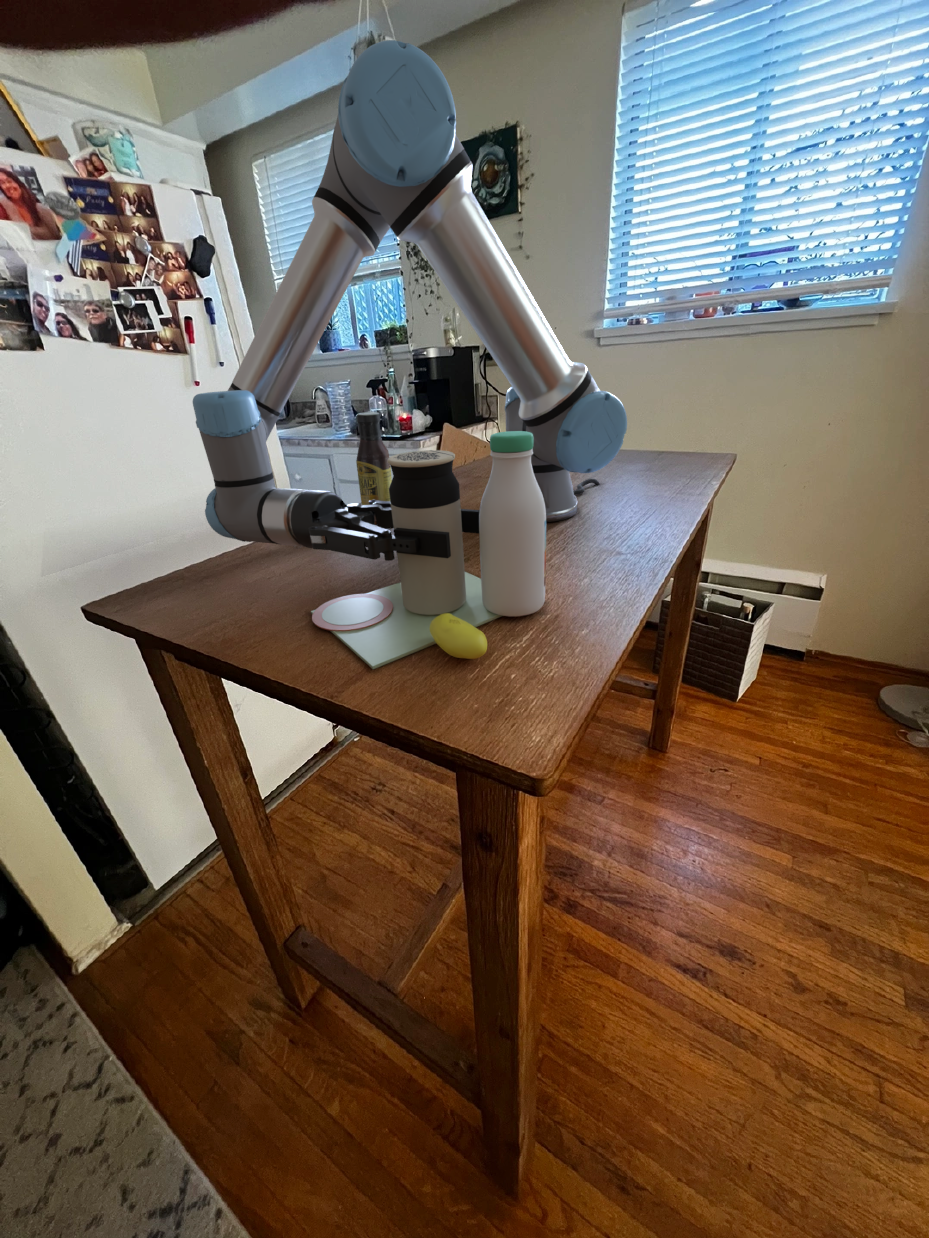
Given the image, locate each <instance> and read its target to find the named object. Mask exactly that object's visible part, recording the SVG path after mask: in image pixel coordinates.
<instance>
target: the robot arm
mask: <svg viewBox="0 0 929 1238" xmlns="http://www.w3.org/2000/svg"><path fill="white" fill-rule="evenodd" d="M337 105H338V107H337V116H336V121H335V125H334V127H333V133H332V137H331V144H330V148H329V151H328V152H329V153H328V157H327V162H326V165H325V168H324V172H323V175H322V177H321V181H320V183H319V185H318V188H317V189H316V192H315V194H314V195H313V198H312V200H311V204H312V209H313V212H314V216H313V218H312V219H311V222H310V224H309V225H308V228H307V229H306V232H305V234H304V235H303V238H302V240H301V242H300V244H299V246H298V248H297V250H296V252H295V254H294V255H293V258H292V260H291V262H290V264H289V266H288V268H287V270H286V272H285V274H284V276H283V279H282V280H281V283H280V284H279V287H278V289H277V290H276V292H275V294H274V296H273V298H272V300H271V303H270V304H269V307H268V308H267V311H266V312H265V315H264V317H263V319H262V321H261V322H260V325H259V327H258V329H257V331H256V333H255V335H254V337H253V339H252V341H251V343H250V345H249V348H248V349H247V351H246V352H245V356H244V357H243V359H242V361H241V363H240V365H239V367H238V369H237V370H236V373H235V375H234V377H233V379H232V382H231V383H230V386H229V387H228V388H227V390H222V391H210V392H203V393H197V394H195V395H194V396H193V397H192V407H193V411H194V415H195V425H196V428H197V429H198V432H199V434H200V437H201V438H200V439H201V441H202V444H203V447H204V451H205V455H206V459H207V462H208V464H209V467H210V471H211V474H212V478H213V482H214V488H213V489H212V490H211V491H210V492H209V493H208V495H207V497H206V499H205V503H206V504H205V509H204V514H205V519H206V521H207V523H208V525H209V526H210V527H211V529H212V530H213V531H214V532H215V533H216V534H218V535H219V536H221V537H224V538H229V539H232V540H237V541H240V542H244V543H246V542H247V543H261V544H263V543H264V544H275V545H280V546H281V545H283V546H290V547H293V548H294V549H295V550H300V549H301V548H306V549H313V550H319V551H332V552H337V553H340V554H345V555H349V556H355V557H360V558H363V559H369V560H378V559H380V558H381V554H383V556H384V561H387V562H389V561H394V560H395V558H396V557H395V552H396V554H397V553H403V554H412V555H421V556H430V557H439V558H449V557H450V556H451V549H450V536H449V532H441V531H430V530H419V529H407V528H395V529H394V526H393V518H392V511H391V503H390V501H381V500H375V499H373V500H370V501H369V505H362V504H361V503H358V502H356V503H349V504H346V503H345V502H344V500H343V499H342V498H341V497H340V495H338V494H337V493H336V492H333V491H330V490H317V489H315V490H313V489H309V490H308V489H302V488H280V487H277V486H276V482H275V478H274V472H273V469H272V464H271V460H270V455H269V452H268V446H267V441H268V439H269V437H270V435H271V433H272V431H273V429H274V427H275V425H276V423H277V422H278V420H279V418H280V415H281V413H282V411H283V409H284V408H285V406H286V404H287V402H288V399H289V398H290V396H291V394H292V392H293V391H294V389H295V387H296V385H297V383H298V381H299V379H300V377H301V375H302V374H303V372H304V370H305V369H306V366H307V364H308V362H309V361H310V358H311V357H312V355H313V353H314V351H315V349H316V347H317V346H318V343H319V342H320V339H321V338H322V336H323V334H324V332H325V330H326V328H327V326H328V325H329V323H330V321H331V319H332V318H333V316H334V314H335V312H336V310H337V308H338V306H339V304H340V302H341V300H342V299H343V296H344V295H345V293H346V291H347V289H348V287H349V285H350V283H351V282H352V280H353V278H354V277H355V274H356V272H357V271H358V268H359V267H360V264H361V263H362V262H363V261H362V260H363V259H364V258H368V257H372V256H374V255H375V254H376V251H377V249H378V248H379V246H380V244H381V242H382V240H383V239H384V237H385V236H386V234H388V232H389V230H391V231H392V233H393V234H394V236H395V237H396V238H397V240H398V241H402V242H407V243H412V244H415V245H416V246H417V247H418V248H419V250H420V251H421V253H422V254H423V256H424V257H425V259H426V260H427V261H428V263H429V265H430V267H432V269H433V271H434V272H435V274H436V275H437V277H438V278H439V280H440V281H441V283H442V284H443V285H444V287H445V289H446V290H447V291H448V293H449V295H450V296H451V298H452V299H453V301H454V302H455V303H456V305H457V306H458V308H459V309H460V311H461V312H462V314H463V316H464V318H465V319H466V320H467V321H468V323H469V324H470V326H471V327H472V329H473V330H474V332H475V334H476V335H477V337H478V338H479V339H480V341H481V343H482V344H483V345H484V347H485V348H486V350H487V351H488V353H489V354H490V356H491V357H492V359H493V360H494V362H495V363H496V365H497V366H498V368H499V369H500V371H501V372H502V374H503V375H504V377H505V378H506V380H507V381H508V383H509V384H510V387H509V388H508V389H507V391H506V393H505V405H504V413H505V432H508V431H526V432H530V433H532V434H533V440H534V443H533V454H532V455H531V464H532V469H533V472H534V476H535V478H536V481H537V483H538V485H539V488H540V490H541V492H542V495H543V498H544V502H545V509H546V523H553V522H558V521H563V520H566V519H569V518H571V517H573V516H575V515H576V514H577V512H578V499H577V496H576V495H580V494H583V493H584V492H585V490H586V489H585V486H587V485H589V484H594V485H595V486H600V484H601V483H600V482H599V480H597V479H595V478H587V479H584V480H583V481H581V482H580V483H579V484H577V485H576V489H575V490H574V487H573V482H572V478H571V477H572V476H571V474H570V473H578V474H591V473H596V472H598V471H600V470H601V469H603V468H605V467H606V466H607V465H608V464H610V463H611V462H613V459H615V458H616V456H617V455H618V453H619V452H620V450H621V448H622V446H623V444H624V438H625V435H626V434H627V429H628V417H627V416H628V415H627V412H626V409H625V407H624V404H623V403H622V401H621V400H620V399H619V398H618V397H617V396H616V395H614V394H612V393H611V392H609V391H606V390H601V389H600V388H599V387H598V385H597V383H596V381H595V379H594V377H593V375H592V374H591V372H590V370H589V368H588V367H587V366H586V364H585V363H583V362H578V361H572V360H570V359H569V357H568V355H567V353H566V352H565V350H564V348H563V346H562V345H561V343H560V342H559V340H558V338H557V336H556V335H555V333H554V331H553V329H552V328H551V326H550V324H549V322H548V321H547V319H546V317H545V316H544V313H543V312H542V311H541V309H540V307H539V306H538V304H537V302H536V300H535V298H534V296H533V295H532V293H531V290H529V288H528V286H527V284H526V283H525V281H524V279H523V277H522V276H521V274H520V272H519V271H518V269H517V267H516V265H515V264H514V262H513V260H512V258H511V257H510V255H509V254H508V251H507V250H506V248H505V246H504V245H503V242H502V241H501V240H500V237H499V236H498V234H497V233H496V231H495V229H494V227H493V226H492V224H491V222H490V220H489V219H488V217H487V215H486V214H485V211H484V210H483V208H482V206H481V205H480V203H479V201H478V199H477V198H476V196H475V194H474V193H473V190H472V187H471V186H472V175H473V162H472V161H471V159H470V157H469V156H468V153H467V151H466V150H465V147H464V146H463V144H462V143H461V141H460V139H459V137H458V135H457V133H456V132H457V118H456V117H457V112H456V106H455V101H454V95H453V94H452V91H451V87H450V85H449V83H448V81H447V79H446V77H445V75H444V73H443V71H442V70H441V68H440V67H439V65H438V64H437V63H436V62H435V61H434V60H433V59H432V57H431V56H430V55H428V54H427V53H426V52H425V51H423V50H422V49H421V48H419V47H417V46H416V45H414V44H412V43H410V42H403V41H401V40H396V39H387V40H381V41H379V42H375V43H374V44H371V45H370V46H368V47H367V48H366V49H365V50H363V51H362V52H361V53H360V54H359V55H358V57H357V58H356V59H355V61H354V62H353V64H352V66H351V67H350V69H349V72H348V74H347V76H346V77H345V78H344V81H343V84H342V86H341V89H340V93H339V95H338V104H337ZM479 513H480V509H469V508H461V521H462V533H467V534H477V535H479ZM374 520H375V521H376V522H377V525H375V521H374ZM389 529H390V530H389ZM391 529H393V533H392V531H391Z"/></svg>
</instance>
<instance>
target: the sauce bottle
mask: <svg viewBox="0 0 929 1238" xmlns="http://www.w3.org/2000/svg"><path fill="white" fill-rule="evenodd" d="M356 420H357V421H356V422H357V424H358V431H359V443H358V449H357V454H356V455H357V456H356V459H355V460H356V461H355V463H356V471H357V478H358V479H357V480H358V488H359V494H360V504H361V505H369V501H370V500H373V499H375V500H381V501H390V495H389V487H390V484H391V481H392V479H393V476H392V469H391V466H390V464H388V462H387V460H388V458H389V457H390V453H389V449H388V447H386V445H385V444H384V441H383V439H382V434H381V427H380V425H381V424H380V422H381V414H380V412H376V411H375V412H374V411H369V412H359V413H357V414H356ZM374 521H375V520H374ZM375 526H377V522H376V521H375Z"/></svg>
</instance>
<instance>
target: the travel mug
mask: <svg viewBox="0 0 929 1238" xmlns="http://www.w3.org/2000/svg"><path fill="white" fill-rule="evenodd" d="M455 459H456V454H455V453H454V452H452V451H449V450H442V449H427V450H415V451H407V452H401V453H397V454H393V455H391V456H389V458H388V460H387V462H388V464H390V467H391V474H392V481H391V484H390V487H389V495H390V503H391V511H392V518H393V526H394V528H393V530H394V529H395V528H407V529H419V530H430V531H441V532H449V536H450V549H451V556H450V557H449V558H439V557H430V556H421V555H412V554H403V553H396V556H397V566H398V572H399V580H400V581H399V582H401V589H402V597H403V604H404V607H405V608H406V609H407V610H409V611H411V612H414V613H418V614H421V615H440V614H444V613H448V612H451V611H454V610H456V609H458V608H459V607H461V606H462V605H463V604H464V603H465V602H466V586H465V572H466V571H465V555H464V541H463V532H462V521H461V509H462V506H461V505H462V504H461V492H460V489H461V488H460V482H459V480H458V479H457V477H456V475H455V474H454V472H453V468H454V467H453V466H454V460H455Z"/></svg>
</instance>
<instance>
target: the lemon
mask: <svg viewBox="0 0 929 1238" xmlns="http://www.w3.org/2000/svg"><path fill="white" fill-rule="evenodd" d="M430 633H431V635H432V637H433V638H434V640H435V642H436V644H437V646H438V647H439V648H441V650H442V651H444V652H445V653H446V654H448V655H449V656H451V657H453V658H457V659H466V660H476V659H479V658H481V657H483V656H484V655H486V653H487V650H488V640H487V636H486V635H485V633H484V632H483V631H481V629H479V628H477V627H474V626H472V625H471V624H469V623H468V622H466V621H464V620H462V619H460V618H457V617H455V616H453V615H452V614H449V613H444V614H441V615H439V616H437V617H436V618H435V619H433V620H432V621H431V624H430Z"/></svg>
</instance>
